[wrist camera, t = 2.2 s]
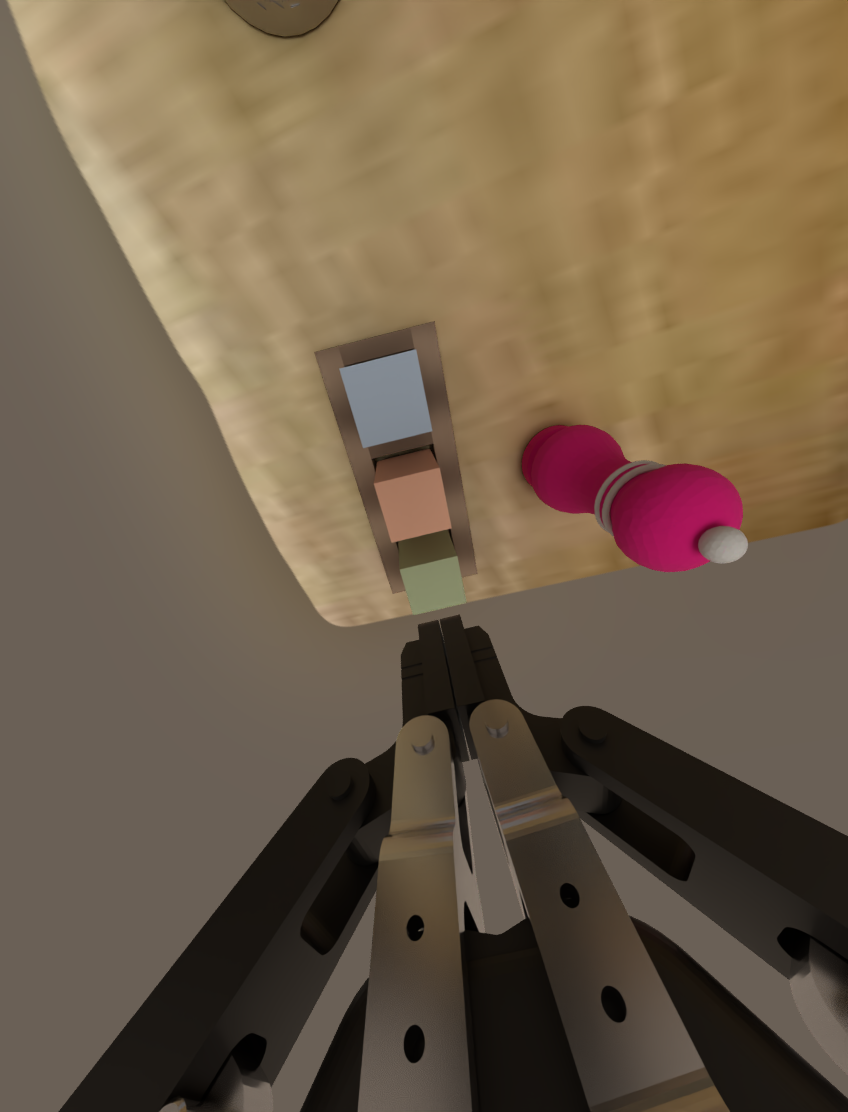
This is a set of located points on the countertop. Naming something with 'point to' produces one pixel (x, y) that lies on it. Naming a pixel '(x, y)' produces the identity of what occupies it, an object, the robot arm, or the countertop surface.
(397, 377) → the slate block
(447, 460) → the walnut board
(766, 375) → the countertop surface
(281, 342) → the countertop surface
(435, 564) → the olive block
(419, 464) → the terracotta block
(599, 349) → the countertop surface
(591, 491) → the pepper mill
